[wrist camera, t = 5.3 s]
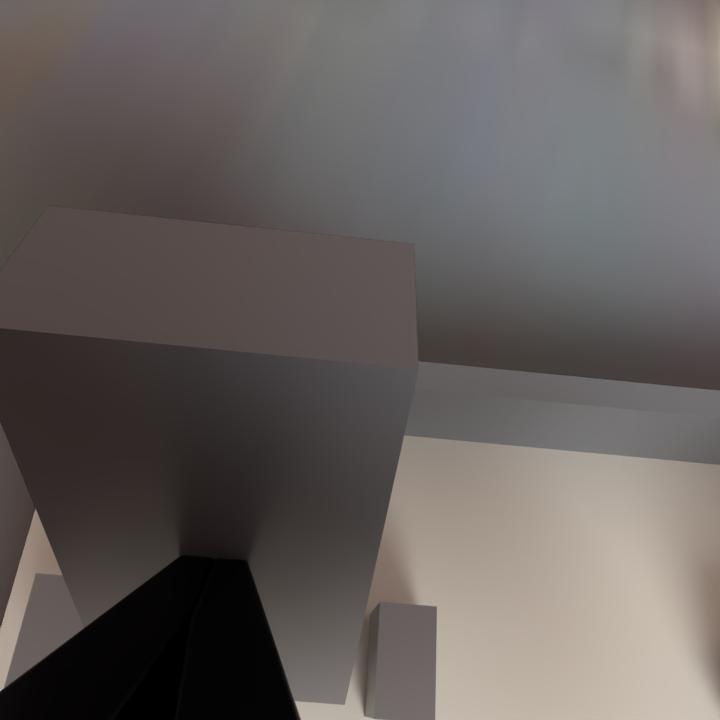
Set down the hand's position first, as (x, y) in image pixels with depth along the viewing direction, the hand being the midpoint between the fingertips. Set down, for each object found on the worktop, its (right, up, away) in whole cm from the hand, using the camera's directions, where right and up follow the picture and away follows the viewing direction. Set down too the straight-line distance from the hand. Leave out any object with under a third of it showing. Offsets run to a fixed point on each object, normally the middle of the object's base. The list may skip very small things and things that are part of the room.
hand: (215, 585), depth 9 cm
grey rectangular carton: (0, -3, +4) cm, 5 cm away
